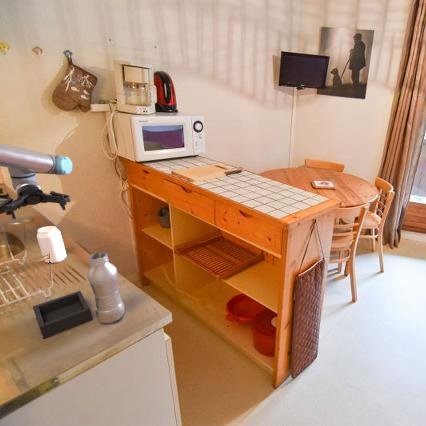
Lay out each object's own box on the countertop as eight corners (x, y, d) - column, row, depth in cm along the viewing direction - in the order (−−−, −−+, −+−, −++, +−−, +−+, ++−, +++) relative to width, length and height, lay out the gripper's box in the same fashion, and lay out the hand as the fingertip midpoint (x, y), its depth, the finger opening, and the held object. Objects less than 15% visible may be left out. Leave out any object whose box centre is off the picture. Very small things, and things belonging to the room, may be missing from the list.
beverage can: (40, 261, 109) (30, 230, 105) (60, 253, 115) (52, 223, 110) (51, 266, 107) (41, 234, 102) (71, 258, 112) (63, 228, 108)
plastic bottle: (93, 319, 86) (76, 256, 79) (119, 306, 92) (106, 246, 84) (104, 330, 83) (89, 265, 76) (130, 316, 89) (118, 254, 81)
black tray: (43, 339, 79) (39, 327, 78) (36, 317, 86) (32, 306, 84) (92, 320, 86) (90, 308, 85) (83, 301, 93) (80, 290, 91)
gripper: (71, 196, 134) (84, 212, 121) (-12, 209, 117) (-7, 230, 104) (67, 179, 131) (80, 193, 118) (-19, 190, 114) (-15, 209, 101)
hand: (39, 210), depth 111 cm, fingers open, 13 cm apart
